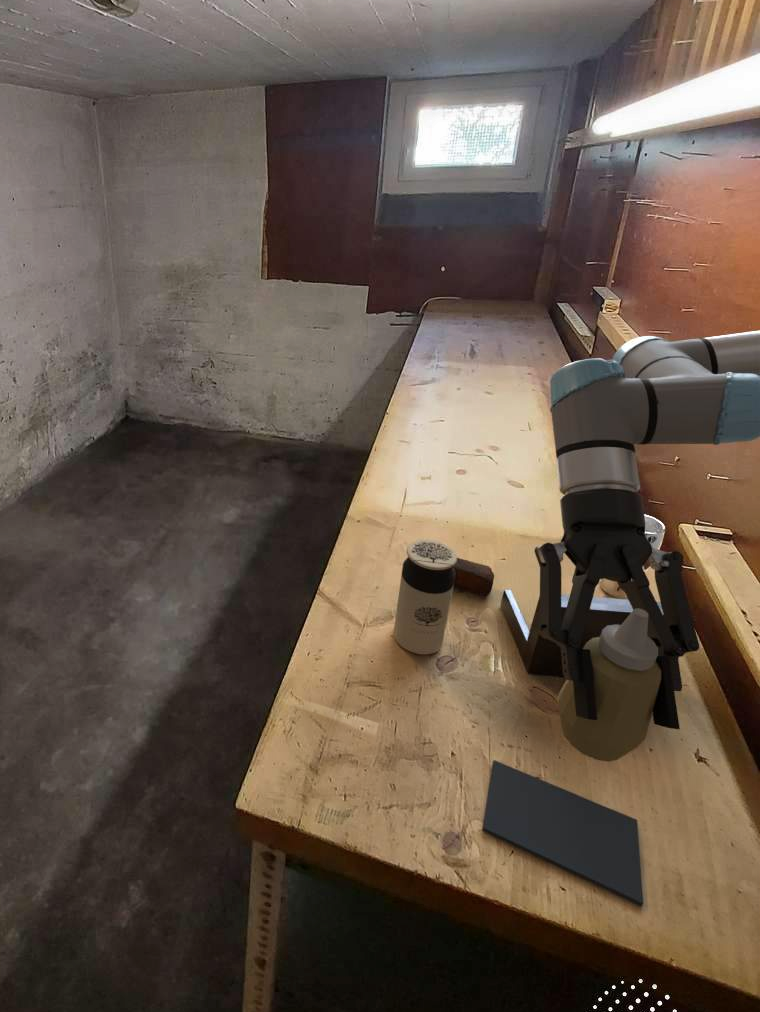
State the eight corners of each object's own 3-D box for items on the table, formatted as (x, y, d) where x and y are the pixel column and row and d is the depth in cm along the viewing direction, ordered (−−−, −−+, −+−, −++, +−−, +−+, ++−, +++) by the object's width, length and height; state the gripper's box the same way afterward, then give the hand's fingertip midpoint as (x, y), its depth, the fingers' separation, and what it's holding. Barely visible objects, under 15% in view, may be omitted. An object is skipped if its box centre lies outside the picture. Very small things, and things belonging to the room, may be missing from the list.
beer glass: (648, 592, 104) (674, 524, 97) (630, 607, 101) (656, 539, 94) (607, 572, 109) (630, 507, 103) (589, 586, 106) (611, 520, 99)
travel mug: (396, 616, 101) (407, 534, 93) (443, 628, 98) (459, 543, 90) (390, 648, 94) (402, 562, 86) (440, 661, 91) (458, 573, 83)
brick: (429, 581, 109) (433, 562, 107) (433, 570, 112) (437, 551, 110) (489, 599, 104) (494, 579, 102) (491, 586, 107) (496, 566, 105)
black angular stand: (499, 606, 102) (515, 543, 96) (607, 615, 99) (630, 550, 93) (527, 674, 88) (547, 606, 82) (653, 686, 86) (684, 617, 79)
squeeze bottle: (536, 705, 65) (574, 584, 57) (607, 706, 65) (656, 584, 57) (573, 772, 58) (623, 644, 50) (653, 773, 58) (717, 644, 50)
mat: (635, 822, 68) (637, 819, 68) (641, 906, 61) (643, 903, 60) (492, 762, 76) (493, 759, 75) (482, 830, 68) (483, 827, 68)
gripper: (675, 507, 64) (711, 728, 57) (494, 497, 67) (507, 706, 60) (721, 491, 57) (768, 741, 50) (517, 480, 60) (534, 715, 53)
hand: (626, 721), depth 55 cm, fingers closed on squeeze bottle, 6 cm apart
